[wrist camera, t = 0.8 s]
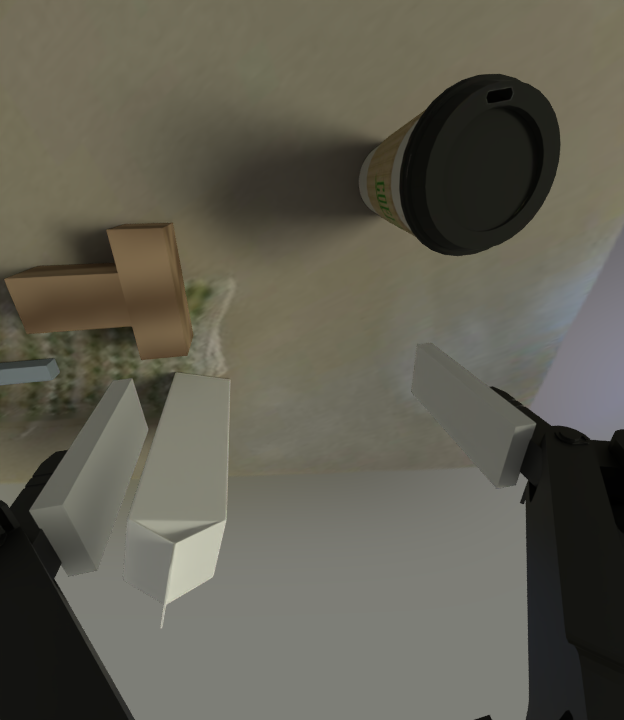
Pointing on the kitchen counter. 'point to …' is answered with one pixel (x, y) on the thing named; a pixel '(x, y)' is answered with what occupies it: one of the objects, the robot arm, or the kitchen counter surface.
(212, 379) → the milk
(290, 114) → the kitchen counter surface
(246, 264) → the kitchen counter surface
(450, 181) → the coffee cup
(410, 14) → the kitchen counter surface
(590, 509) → the robot arm
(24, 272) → the t block
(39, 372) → the t bay
